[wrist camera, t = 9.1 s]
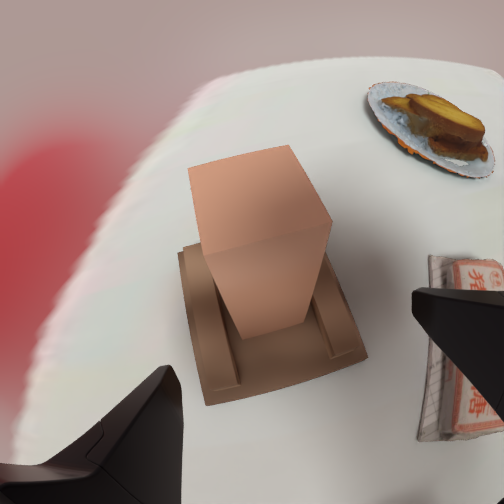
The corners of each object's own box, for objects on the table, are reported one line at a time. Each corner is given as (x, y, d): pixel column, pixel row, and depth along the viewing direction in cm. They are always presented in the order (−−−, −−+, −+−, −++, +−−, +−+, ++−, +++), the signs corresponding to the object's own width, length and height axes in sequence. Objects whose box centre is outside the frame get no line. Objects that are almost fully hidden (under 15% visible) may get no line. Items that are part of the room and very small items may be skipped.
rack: (364, 359, 20) (376, 352, 18) (208, 405, 19) (198, 405, 17) (309, 224, 27) (311, 205, 25) (180, 258, 27) (171, 241, 24)
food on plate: (433, 97, 44) (440, 72, 38) (511, 177, 31) (526, 151, 25) (336, 95, 42) (340, 63, 36) (423, 195, 29) (443, 156, 23)
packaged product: (520, 431, 10) (441, 445, 12) (489, 433, 14) (412, 441, 16) (514, 252, 19) (446, 233, 21) (491, 273, 23) (425, 259, 25)
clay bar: (303, 322, 21) (332, 221, 10) (242, 339, 21) (203, 255, 10) (284, 268, 24) (288, 144, 13) (228, 284, 24) (187, 168, 13)
